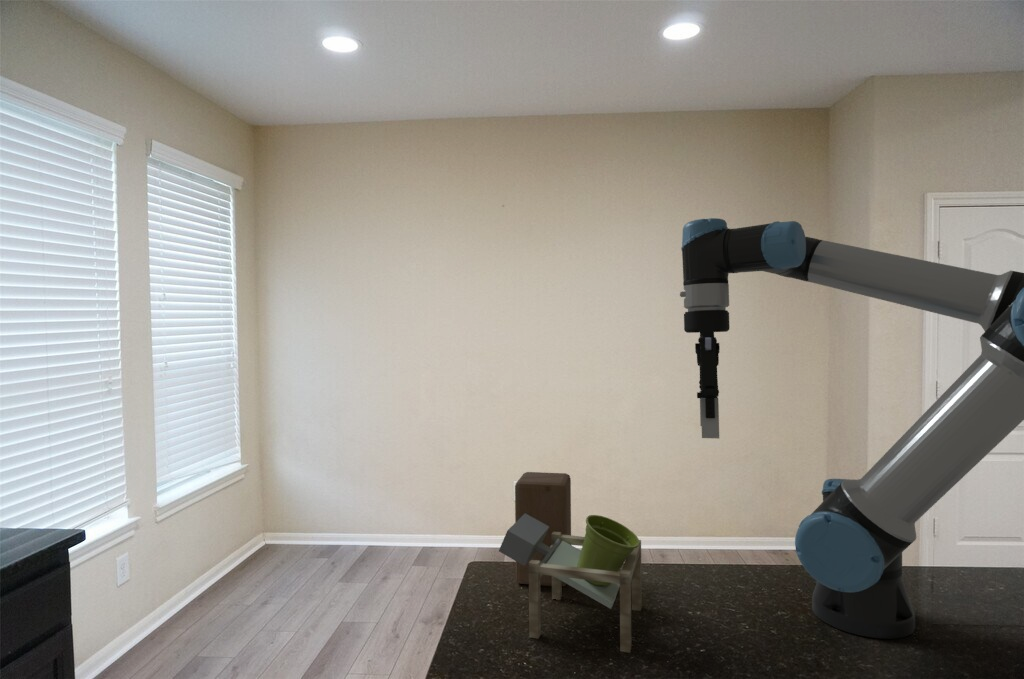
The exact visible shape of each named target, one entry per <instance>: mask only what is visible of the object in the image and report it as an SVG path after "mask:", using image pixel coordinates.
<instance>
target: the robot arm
mask: <svg viewBox="0 0 1024 679" xmlns="http://www.w3.org/2000/svg"><path fill="white" fill-rule="evenodd" d="M805 233H806V232H805V231H804V229H803V226H802V225H801V223H799V222H798V221H796V220H791V221H773V222H772V223H771V222H770V223H764V224H757V225H752V226H751V225H750V226H743V227H737V228H728V223H727V222H726V220H724V219H723V218H713V217H711V218H700V219H694V220H691V221H688V222H687V223H685V224H684V226H683V228H682V239H681V240H682V242H681V248H680V249H681V256H682V280H683V282H682V284H683V290H684V291H680V293H679V297H680V298H684V299H683V308H684V309H685V310H686V309H687V311H685V312H684V313H683V328H684V329H683V330H684V332H685V333H687V334H688V333H689V334H691V333H693V334H695V333H699V337H698V340H697V341H698V343H694V344H695V346H694V349H695V351H694V352H695V354H696V363H697V366H699V381H698V384H699V386H698V387H699V392H696V397H697V398H696V399H699V417H700V419H699V420H700V427H701V439H720V415H719V414H720V411H719V410H720V409H719V408H720V407H719V393H720V389H719V382H718V366H719V363H720V362H719V361H720V360H719V359H720V358H719V354H720V342H718V340H717V337H715V333H725V332H728V331H730V312H729V311H728V310H726V309H727V308H728V307H730V289H729V288H730V285H729V274H738V273H750V272H763V273H764V272H765V273H770V274H774V275H778V276H781V277H785V278H790V279H795V280H799V281H803V282H808V283H813V284H817V285H819V286H820V285H821V286H824V287H828V288H833V289H837V290H840V291H844V292H849V293H853V294H856V295H861V296H865V297H870V298H873V299H877V300H880V301H885V302H889V303H892V304H896V305H902V306H906V307H910V308H912V309H918V310H922V311H926V312H930V313H934V314H937V315H942V316H945V317H950V318H953V319H957V320H962V321H965V322H970V323H975V324H978V325H980V326H981V328H982V329H983V331H984V332H983V333H982V335H980V336H979V341H980V348H981V353H980V355H979V356H978V357H977V358H976V359H975V360H974V361H973V362H972V364H970V366H968V367H967V368H966V370H964V371H963V373H962V374H961V375H959V377H958V378H956V380H955V381H954V382H953V383H952V384H951V385H950V386H949V387H948V388H947V389H946V390H945V391H944V392H943V393H942V394H941V395H940V396H939V397H938V399H937V400H936V401H935V402H934V403H933V404H932V405H931V406H930V407H929V408H928V409H927V410H926V411H925V412H924V413H923V414H922V415H921V416H920V417H919V418H918V419H917V420H916V421H915V422H914V423H913V425H911V426H910V427H909V429H908V430H906V432H905V433H904V434H902V436H901V437H900V438H899V439H898V440H897V441H896V442H895V443H894V444H893V445H892V446H891V447H890V448H889V449H888V450H887V451H886V452H885V453H884V454H883V455H882V456H881V457H880V458H879V459H878V461H877V462H875V464H873V466H872V467H871V468H870V469H869V470H868V471H867V472H866V473H865V474H864V475H863V476H862V477H861V478H859V479H848V478H828V479H825V480H824V482H823V485H822V490H821V495H822V502H821V504H819V505H818V506H817V507H816V509H814V511H813V512H811V514H809V515H807V516H805V518H803V520H802V521H801V522H800V523H799V525H798V528H797V531H796V533H795V538H794V539H795V540H794V548H795V552H796V556H797V558H798V560H799V562H800V564H801V565H802V567H803V568H804V570H805V571H806V572H807V573H808V575H809V576H811V577H812V579H813V580H815V581H816V584H815V587H814V590H813V592H812V596H811V610H812V612H813V614H814V615H815V616H816V617H817V618H818V619H819V620H821V621H822V622H824V623H825V624H827V625H829V626H831V627H833V628H836V629H837V630H841V631H843V632H846V633H850V634H854V635H857V636H861V637H868V638H874V639H882V640H883V639H901V638H905V637H906V638H907V637H908V636H910V635H913V633H914V632H915V630H916V614H915V611H914V607H913V604H912V602H911V599H910V596H909V593H908V590H907V587H906V586H905V583H904V580H903V552H904V551H906V549H907V548H909V546H911V544H913V543H914V542H915V541H916V540H917V532H916V525H915V524H916V522H917V521H919V520H920V518H922V517H923V516H924V515H925V514H926V513H928V511H929V510H931V509H932V507H934V506H935V504H936V503H938V502H939V500H941V499H942V497H944V496H945V495H946V494H947V493H948V492H949V491H950V490H952V488H954V486H956V485H957V484H958V483H959V482H960V481H961V480H962V479H963V478H964V477H966V475H967V474H968V473H969V472H970V471H971V470H972V469H973V468H974V467H976V465H978V464H979V463H980V462H981V461H982V460H983V459H984V458H985V457H986V456H987V455H988V454H989V453H990V452H992V451H993V450H994V449H995V448H996V447H997V446H998V445H999V444H1000V443H1001V442H1002V441H1003V440H1004V439H1005V438H1006V437H1007V436H1008V435H1010V433H1012V431H1014V430H1015V429H1016V428H1017V427H1018V426H1019V425H1020V424H1021V423H1022V422H1024V272H1022V271H1021V272H1020V271H1014V270H1009V271H1006V272H1004V273H1001V274H993V273H990V272H984V271H980V270H974V269H969V268H964V267H960V266H959V267H958V266H955V265H949V264H944V263H939V262H935V261H928V260H923V259H919V258H914V257H909V256H905V255H904V256H903V255H899V254H895V253H888V252H883V251H879V250H874V249H869V248H863V247H859V246H854V245H849V244H844V243H839V242H834V241H828V240H823V239H818V238H814V237H810V236H806V234H805Z"/></svg>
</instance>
